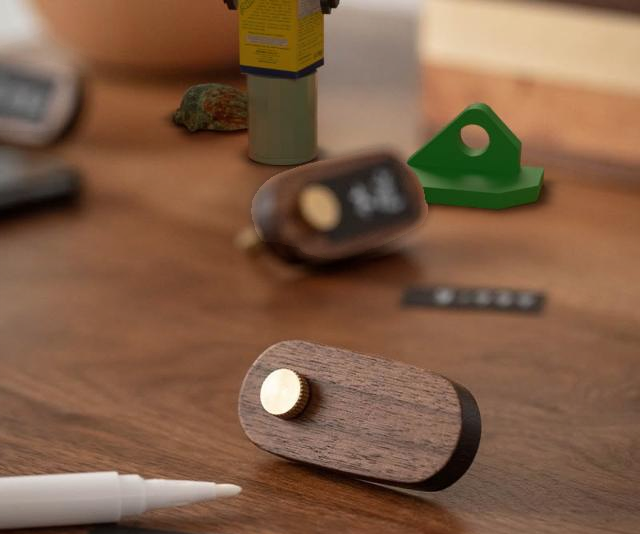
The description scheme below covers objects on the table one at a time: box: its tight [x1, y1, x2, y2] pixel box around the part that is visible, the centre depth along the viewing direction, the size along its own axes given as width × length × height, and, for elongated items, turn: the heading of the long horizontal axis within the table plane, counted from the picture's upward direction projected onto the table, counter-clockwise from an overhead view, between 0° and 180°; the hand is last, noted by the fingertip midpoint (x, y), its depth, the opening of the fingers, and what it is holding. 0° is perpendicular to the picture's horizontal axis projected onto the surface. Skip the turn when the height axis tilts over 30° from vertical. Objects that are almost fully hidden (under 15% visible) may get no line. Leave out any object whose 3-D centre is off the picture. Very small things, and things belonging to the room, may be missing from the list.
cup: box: [245, 69, 319, 166], centre depth 121 cm, size 6×6×8 cm
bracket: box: [406, 101, 545, 210], centre depth 112 cm, size 12×8×7 cm, turn 75°
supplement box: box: [237, 0, 325, 80], centre depth 117 cm, size 6×6×11 cm
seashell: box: [171, 82, 247, 133], centre depth 132 cm, size 10×4×10 cm
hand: (277, 7), depth 115 cm, fingers open, 8 cm apart
